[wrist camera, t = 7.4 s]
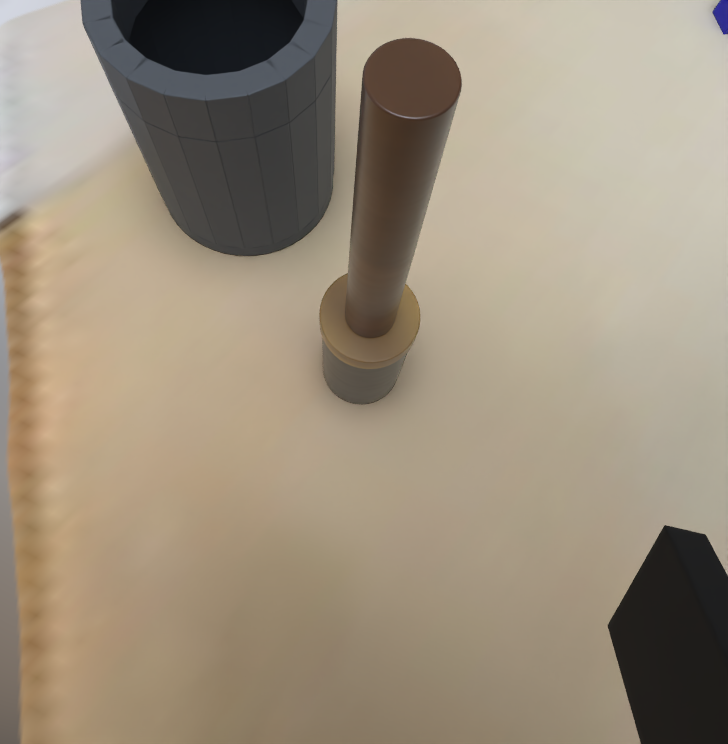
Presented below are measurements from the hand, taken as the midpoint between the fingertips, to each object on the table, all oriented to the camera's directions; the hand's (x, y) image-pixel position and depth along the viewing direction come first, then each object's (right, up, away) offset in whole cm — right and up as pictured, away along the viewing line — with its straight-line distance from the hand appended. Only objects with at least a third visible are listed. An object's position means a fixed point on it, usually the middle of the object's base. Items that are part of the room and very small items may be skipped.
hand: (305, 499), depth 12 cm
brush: (+1, +3, +23) cm, 23 cm away
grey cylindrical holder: (-6, +14, +26) cm, 30 cm away
